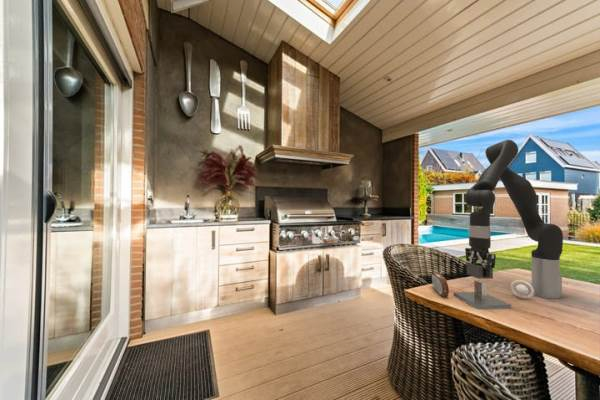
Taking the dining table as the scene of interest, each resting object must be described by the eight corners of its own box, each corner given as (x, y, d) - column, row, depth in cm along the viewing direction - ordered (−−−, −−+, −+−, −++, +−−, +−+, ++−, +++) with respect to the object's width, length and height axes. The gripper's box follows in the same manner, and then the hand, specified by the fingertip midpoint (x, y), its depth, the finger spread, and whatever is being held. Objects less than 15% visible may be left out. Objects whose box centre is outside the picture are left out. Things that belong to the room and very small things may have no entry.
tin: (449, 299, 107) (449, 280, 108) (441, 298, 108) (441, 279, 108) (437, 287, 122) (437, 270, 122) (430, 287, 123) (430, 270, 123)
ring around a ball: (535, 300, 107) (535, 281, 107) (531, 303, 103) (531, 284, 103) (511, 294, 113) (511, 277, 113) (507, 297, 110) (507, 279, 110)
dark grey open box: (478, 278, 102) (478, 265, 102) (466, 274, 108) (466, 262, 108) (492, 278, 102) (492, 265, 102) (480, 274, 109) (480, 262, 109)
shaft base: (482, 295, 112) (482, 276, 112) (510, 308, 98) (510, 286, 98) (453, 295, 111) (453, 276, 111) (477, 309, 97) (477, 287, 98)
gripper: (459, 234, 112) (459, 270, 112) (484, 238, 98) (484, 280, 98) (474, 234, 113) (474, 270, 113) (502, 238, 98) (502, 280, 98)
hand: (479, 274), depth 105 cm, fingers closed on dark grey open box, 6 cm apart
